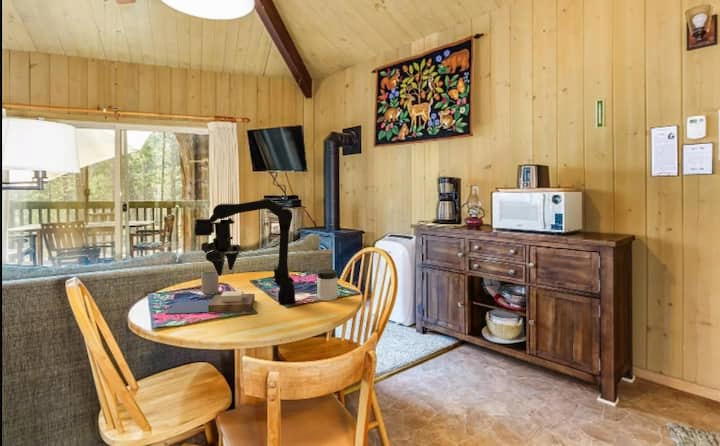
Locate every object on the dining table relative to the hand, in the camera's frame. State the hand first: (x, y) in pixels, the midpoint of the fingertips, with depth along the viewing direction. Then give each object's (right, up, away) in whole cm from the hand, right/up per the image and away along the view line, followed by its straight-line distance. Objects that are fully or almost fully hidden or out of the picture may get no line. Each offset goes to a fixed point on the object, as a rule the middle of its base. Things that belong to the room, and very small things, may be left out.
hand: (225, 272), depth 173 cm
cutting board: (+3, -14, 0) cm, 14 cm away
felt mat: (-13, -14, -2) cm, 19 cm away
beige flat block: (+3, -11, -1) cm, 11 cm away
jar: (+41, -13, +12) cm, 44 cm away
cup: (-14, -11, +21) cm, 27 cm away
